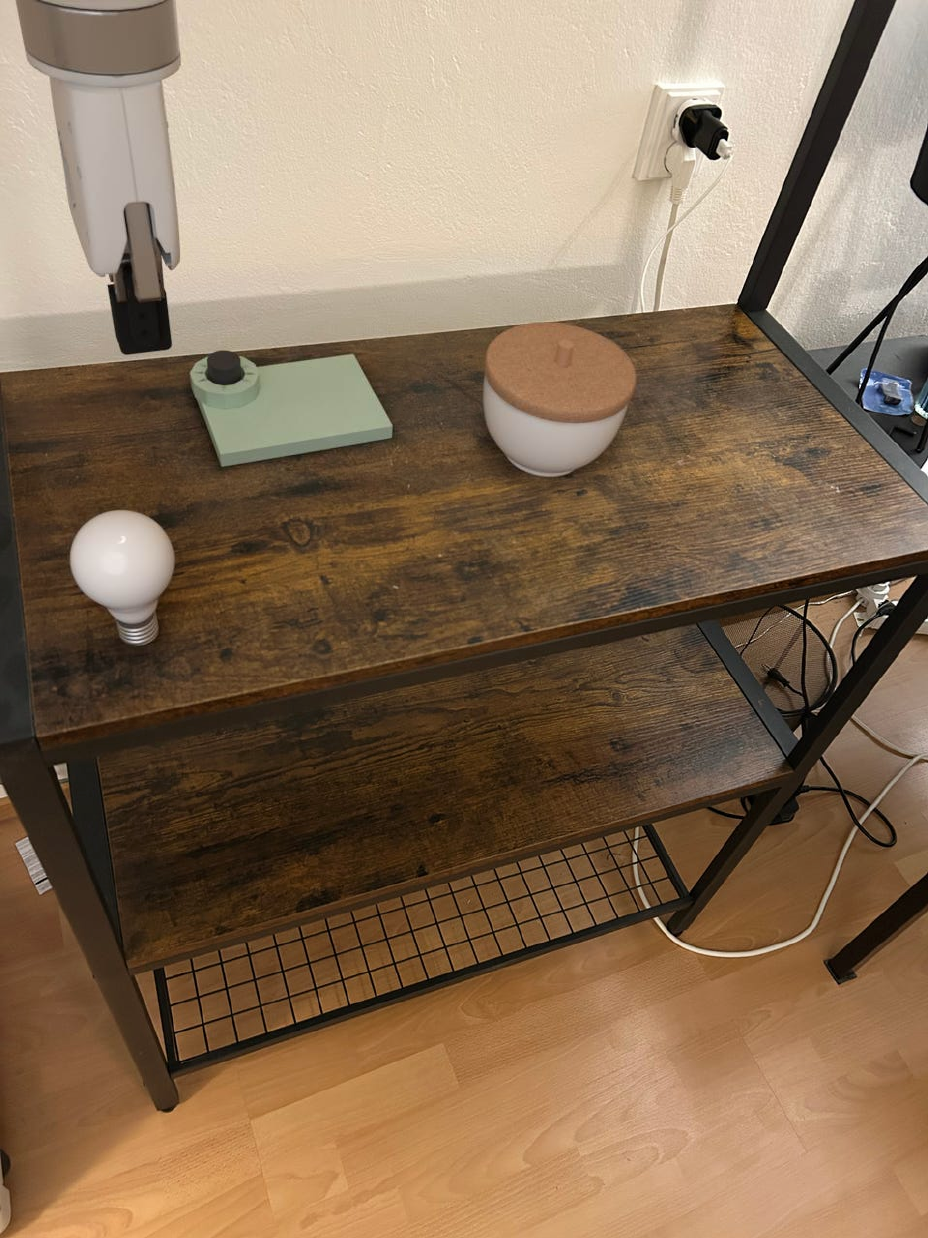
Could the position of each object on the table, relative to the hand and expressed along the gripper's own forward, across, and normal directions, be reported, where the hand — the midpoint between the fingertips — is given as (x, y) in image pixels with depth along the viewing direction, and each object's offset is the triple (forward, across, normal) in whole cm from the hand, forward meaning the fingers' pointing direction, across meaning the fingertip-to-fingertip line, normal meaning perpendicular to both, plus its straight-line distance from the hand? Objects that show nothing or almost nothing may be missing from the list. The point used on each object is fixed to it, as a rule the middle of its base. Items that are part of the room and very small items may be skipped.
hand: (144, 344), depth 62 cm
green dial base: (+17, -12, +13) cm, 24 cm away
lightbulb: (+17, +9, -4) cm, 20 cm away
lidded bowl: (+16, -1, +33) cm, 37 cm away
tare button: (+14, -15, +8) cm, 22 cm away
